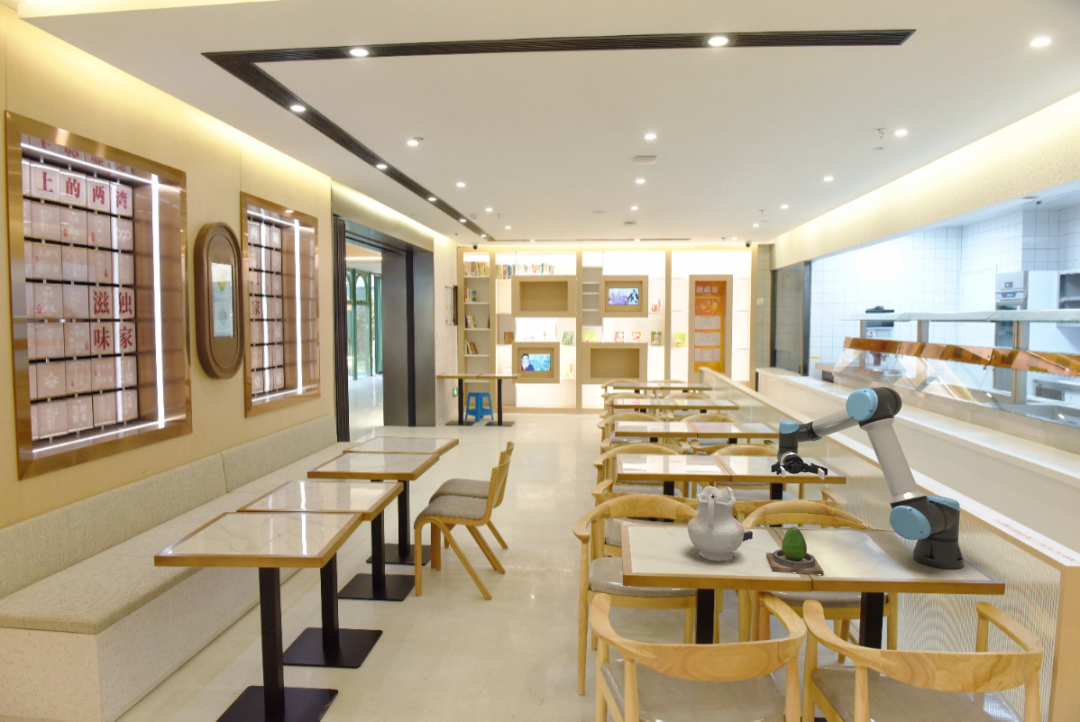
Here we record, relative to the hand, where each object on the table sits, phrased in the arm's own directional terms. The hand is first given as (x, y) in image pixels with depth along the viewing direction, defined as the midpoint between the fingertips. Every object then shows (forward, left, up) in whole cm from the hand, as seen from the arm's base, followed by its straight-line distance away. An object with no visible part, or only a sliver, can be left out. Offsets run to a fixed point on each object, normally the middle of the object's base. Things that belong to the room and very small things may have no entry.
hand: (803, 474), depth 229 cm
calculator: (+25, -7, -29) cm, 39 cm away
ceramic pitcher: (+32, +15, -28) cm, 45 cm away
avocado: (+6, +18, -27) cm, 33 cm away
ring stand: (+6, +18, -28) cm, 34 cm away
